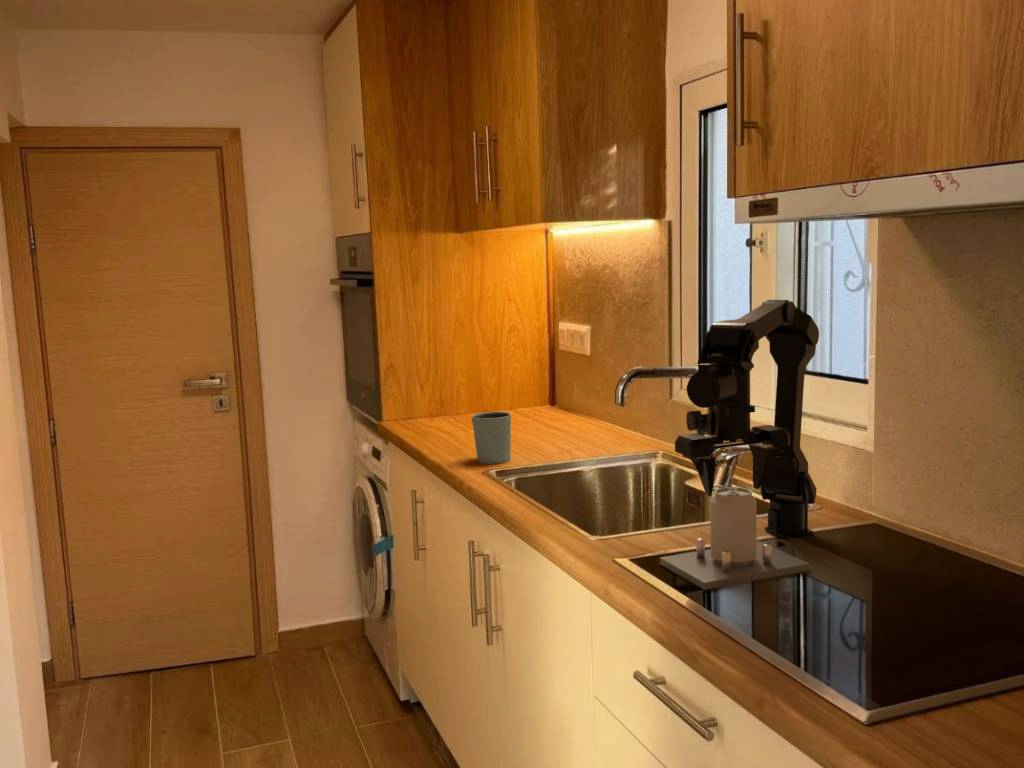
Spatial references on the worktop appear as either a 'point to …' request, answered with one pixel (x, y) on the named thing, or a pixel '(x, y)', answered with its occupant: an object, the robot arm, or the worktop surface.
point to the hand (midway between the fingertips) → (732, 492)
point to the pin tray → (713, 574)
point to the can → (733, 525)
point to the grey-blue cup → (492, 437)
